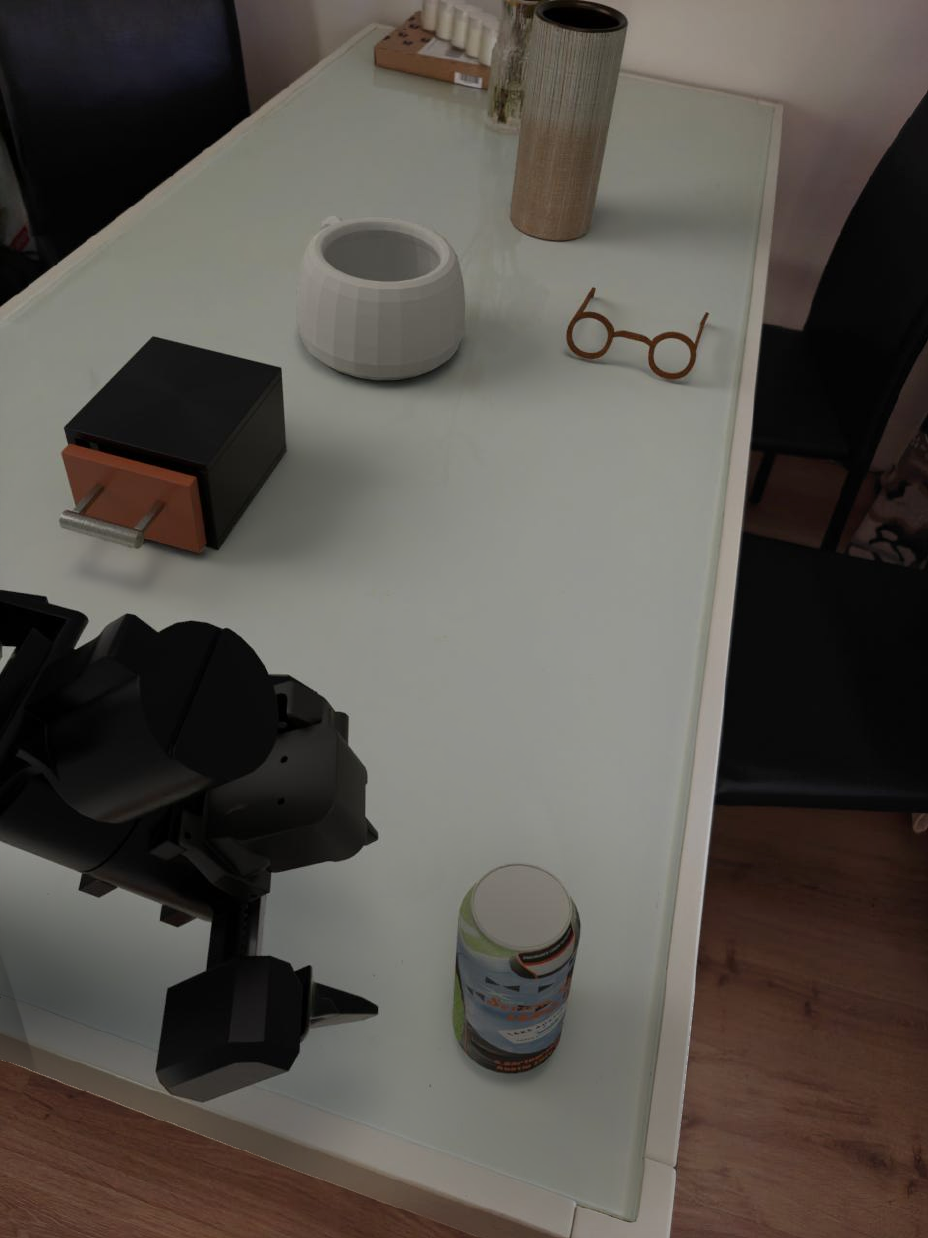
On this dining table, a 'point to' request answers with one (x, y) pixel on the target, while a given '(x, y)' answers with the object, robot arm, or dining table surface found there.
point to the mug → (380, 298)
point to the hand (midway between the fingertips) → (372, 921)
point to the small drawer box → (194, 422)
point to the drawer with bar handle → (133, 498)
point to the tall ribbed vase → (566, 116)
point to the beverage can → (514, 967)
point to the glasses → (633, 336)
